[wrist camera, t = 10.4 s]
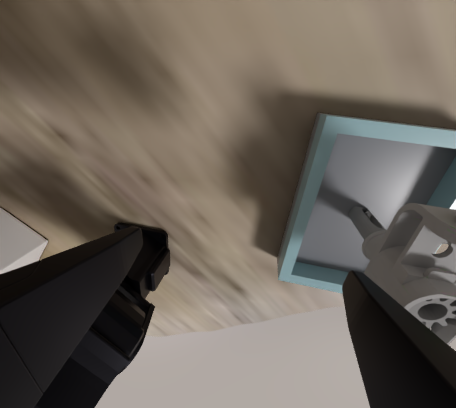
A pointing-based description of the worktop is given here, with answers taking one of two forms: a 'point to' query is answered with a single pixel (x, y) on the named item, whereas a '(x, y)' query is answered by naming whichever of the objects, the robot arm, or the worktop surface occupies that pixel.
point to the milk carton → (18, 243)
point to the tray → (360, 191)
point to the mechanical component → (414, 262)
